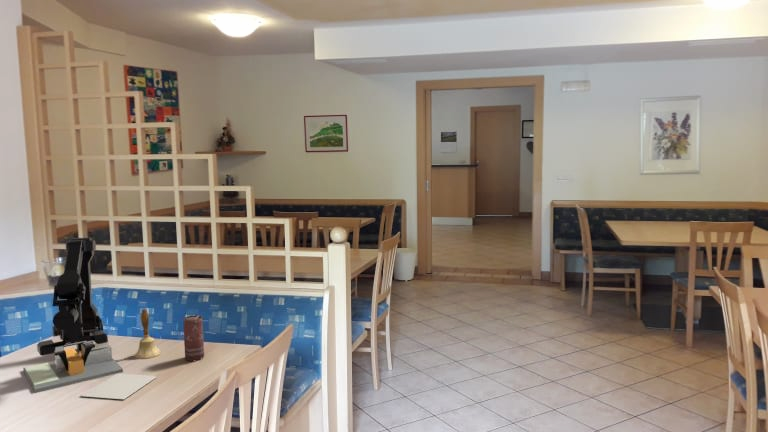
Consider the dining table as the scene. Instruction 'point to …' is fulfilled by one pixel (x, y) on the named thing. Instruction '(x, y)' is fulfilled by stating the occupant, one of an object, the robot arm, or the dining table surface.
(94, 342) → the cream bar
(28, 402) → the dining table surface
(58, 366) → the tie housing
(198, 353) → the can
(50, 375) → the pad
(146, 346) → the hand bell
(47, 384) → the slate board
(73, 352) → the orange block
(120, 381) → the paper stack
